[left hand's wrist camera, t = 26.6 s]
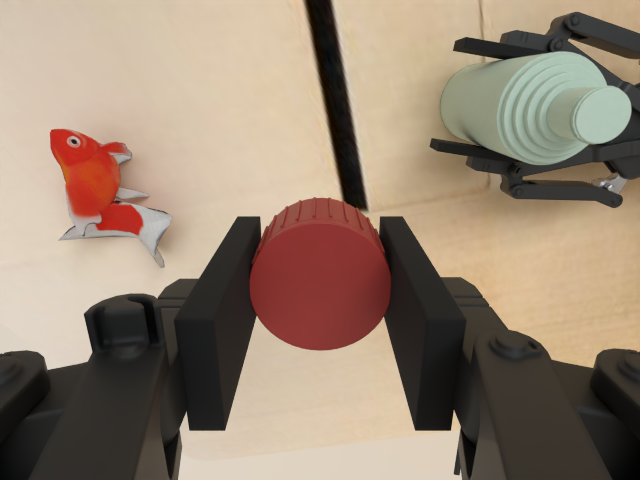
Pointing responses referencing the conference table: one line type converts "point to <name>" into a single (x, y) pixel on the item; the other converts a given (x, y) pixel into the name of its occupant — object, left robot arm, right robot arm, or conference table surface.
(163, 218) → the fish
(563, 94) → the bottle
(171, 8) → the conference table surface
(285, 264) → the cap
